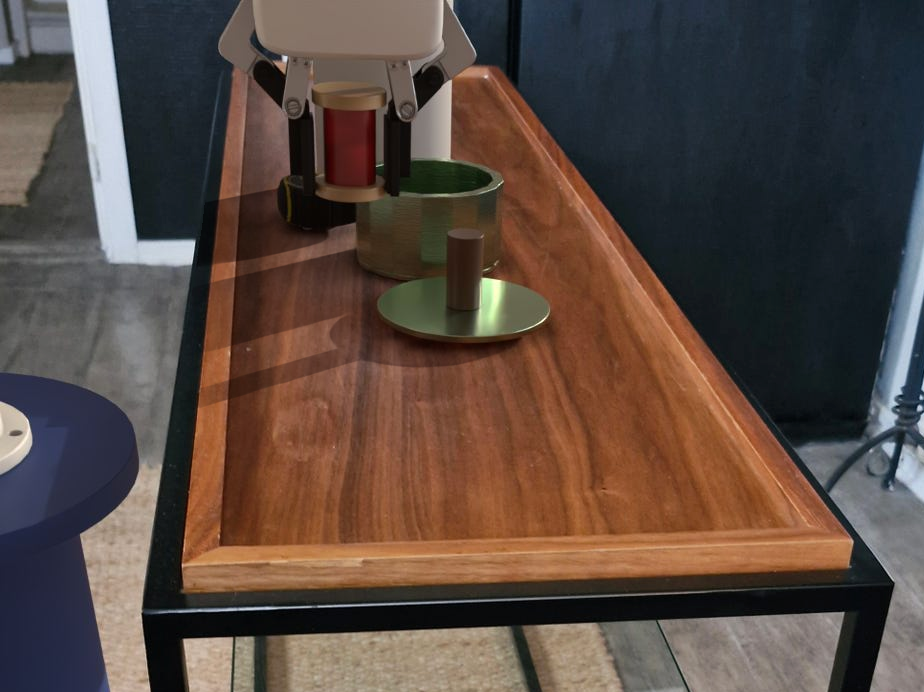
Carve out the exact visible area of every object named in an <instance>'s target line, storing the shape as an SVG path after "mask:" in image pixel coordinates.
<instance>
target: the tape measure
mask: <svg viewBox="0 0 924 692" xmlns="http://www.w3.org/2000/svg"><path fill="white" fill-rule="evenodd" d="M318 175H320V173H317V172H315V177H316V176H318ZM276 191H277V192H276V203H277V210H278V212H279V215H280V216H281V218H282V219H283V220H284V221H285V222H287V223H289V224H291V225H292V226H293V225H294V226H296V227H300V228H302V229H303V230H305V231H309V230H312V229H315V230H316V229H317V230H318V229H319V230H320V229H321V230H323V229H324V230H327V229H333V228H336V227H337V228H338V227H342V226H347V225H351V224H356V210H355V202H339V201H333V200H328V199H325V198H322V197H320V196H318V195H316V193H312V195H304V194H303V184H302V176H290V174H288V175H285V176H284V177H282V178H281V179H280V181H279V184H278V186H277V190H276Z"/></svg>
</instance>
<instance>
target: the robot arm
mask: <svg viewBox="0 0 924 692" xmlns="http://www.w3.org/2000/svg"><path fill="white" fill-rule="evenodd" d="M454 11H455V10H454V9H453V10H452V8H451V6H450V4H449V2H448V0H240V2H239V4H238V5H237V7H236V9H235V10H234V11H233V14H232V16H231V18H230V20H229V21H228V23H227V25H226V27H225V28H224V30H223V32H222V33H221V36H220V37H219V39H218V44H217V47H218V52H219V54H220V55H221V57H223V58H224V59H225V60H226V61H228V62H230V63H231V64H232V65H233V66H235V67H236V68H237V69H238V70H240V71H241V72H243V73H244V74H245V75H247V76H248V77H250V78H251V79H253V80H254V81H255V82H256V84H257V85H258V87H260V88H261V89H262V90H263V91H264V92H265V93H266V94H267V96H268V97H269V98H270V99H271V100H272V101H273V102H274V103H275V104H276V105H277V106H278V107H279V108H280V109H281V110H282V112H283V114H284V115H285V116H286V117H287V129H288V130H287V131H288V154H289V155H288V156H289V175H290V176H302V184H303V194H304V195H312V193H316V179H315V173H316V150H315V149H316V143H315V119H314V114H313V111H311V109H310V107H311V106H310V100H309V99H308V98H307V96H308V95H307V94H308V88H309V83H310V76H311V71H312V66H313V64H312V59H313V58H325V59H354V60H385V64H386V69H387V75H388V80H389V86H390V91H391V96H392V99H391V100H390V101H389V102H388V110H387V114H384V136H383V178H384V179H385V181H386V192H387V194H390V197H399V195H400V178H410V174H411V121H413V120H414V119H415V118H416V116H417V113H418V112H419V111H420V110H421V109H422V107H423V106H424V105H425V104H426V103H427V102H428V101H429V100H430V99H431V98H432V97H433V96H434V95H435V94H436V93H437V92H438V91H439V90H440V88H441V87H442V86H443V85H444V84H445V83H446V82H448V81H449V80H452V81H453V80H454V78H456V77H458V76H459V75H460V74H462V73H463V72H464V71H466V70H467V69H468V68H470V67H471V66H472V65H474V63H475V62H476V59H477V53H476V49H475V48H474V46H473V44H472V43H471V40H470V39H469V37H468V35H467V34H466V32H465V29H464V28H463V26H462V24H461V22H460V21H459V19H458V17H457V15H456V13H455V12H454ZM254 32H255V34H256V37H257V40H258V42H259V44H260V45H261V46H262V47H263V48H264V49H266V50H267V51H269V52H271V53H273V54H276V55H279V56H283V57H287V58H286V64H285V70H284V72H283V71H282V70H281V69H280V68H279V67H278V66H277V65H276V64H275V62H274V61H273V60H272V59H271V58H269V57H267V56H266V55H264V54H263V53H262V52H260V51H259V49H257V48H256V47H255V46H254V45H253V44H252V43H251V38H252V35H253V34H254ZM441 38H442V39H443V42H444V48H443V51H442V52H441V53H440V54H439V55H437V56H436V57H435V58H434V59H433V60H431V61H430V62H427V63H425V64H424V65H423V66H422V67H421V68H420V69H419V70H418V71H417V72H416V73H415V74H414V75H413V76H412V73H411V67H410V60H419V59H423V58H426V57H428V56H430V55H432V54H433V53H435V52H436V51H437V50H438V48H439V46H440V43H441ZM31 446H32V433H31V429H30V425H29V421H28V419H27V418H26V417H25V416H24V414H23V413H21V412H20V411H18V410H17V409H15V408H14V407H12V406H10V405H8V404H5V403H3V402H0V475H2V474H4V473H6V472H8V471H9V470H11V469H12V468H13V467H15V466H16V465H17V464H19V463H20V462H21V461H22V460H23V458H24V457H25V456H26V455H27V454H28V453H29V450H30V448H31Z"/></svg>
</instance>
